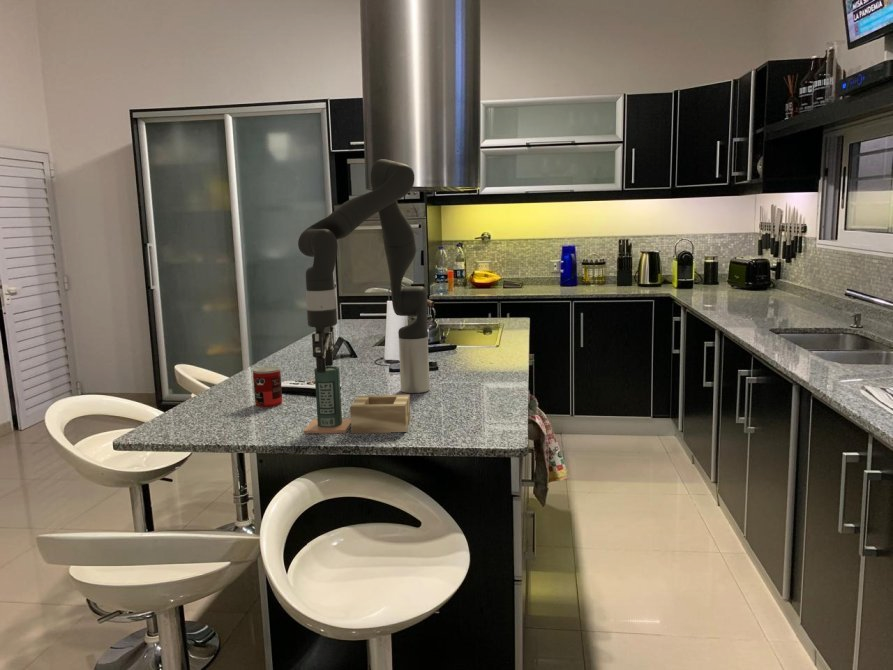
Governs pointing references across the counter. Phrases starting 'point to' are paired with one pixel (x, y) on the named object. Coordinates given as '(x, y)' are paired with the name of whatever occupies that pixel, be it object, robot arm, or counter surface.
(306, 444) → the counter surface
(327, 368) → the can
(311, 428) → the plate
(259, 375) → the canned food
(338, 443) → the counter surface
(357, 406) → the bore block
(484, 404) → the counter surface
